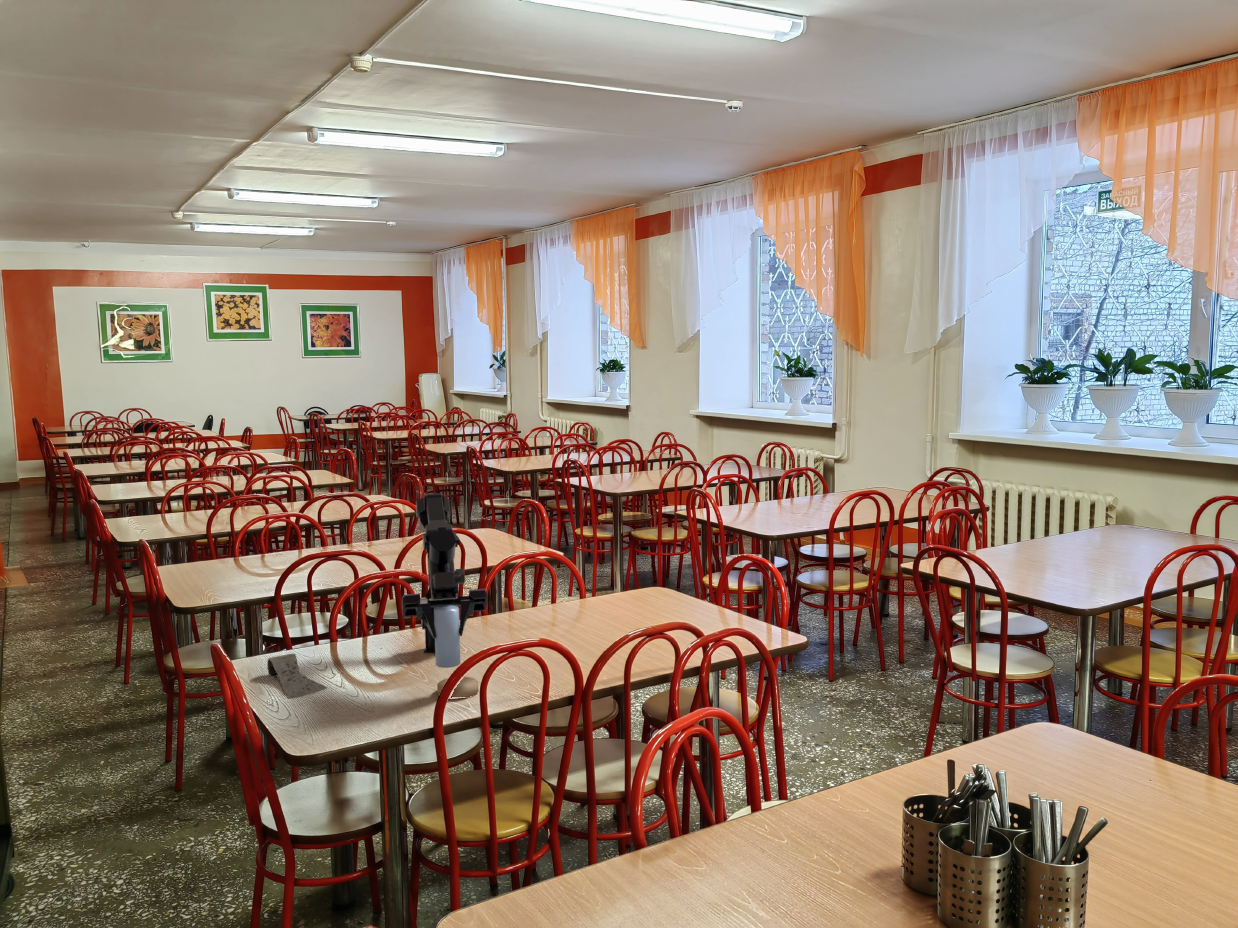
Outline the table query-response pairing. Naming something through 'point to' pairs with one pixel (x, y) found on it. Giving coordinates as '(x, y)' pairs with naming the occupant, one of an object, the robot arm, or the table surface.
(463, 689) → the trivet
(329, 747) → the table surface
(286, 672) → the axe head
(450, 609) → the pale blue pillar candle
